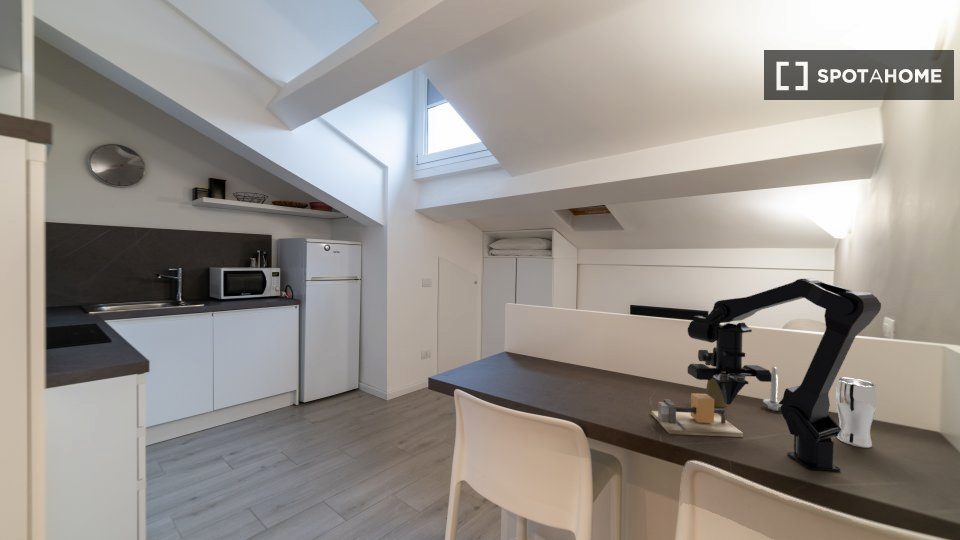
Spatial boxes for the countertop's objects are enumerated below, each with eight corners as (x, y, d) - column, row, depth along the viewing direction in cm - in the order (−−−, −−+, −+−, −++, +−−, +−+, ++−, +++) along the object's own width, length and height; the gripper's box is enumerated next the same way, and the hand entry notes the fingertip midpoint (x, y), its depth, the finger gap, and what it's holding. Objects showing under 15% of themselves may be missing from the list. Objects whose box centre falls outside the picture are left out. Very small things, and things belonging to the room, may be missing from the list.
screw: (776, 413, 107) (759, 407, 111) (787, 411, 108) (769, 404, 113) (778, 369, 106) (760, 364, 111) (788, 367, 108) (770, 363, 112)
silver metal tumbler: (832, 432, 95) (834, 375, 95) (871, 440, 91) (873, 381, 90) (836, 442, 90) (838, 382, 89) (877, 452, 85) (879, 388, 85)
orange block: (713, 422, 97) (714, 399, 97) (698, 422, 97) (698, 398, 97) (705, 416, 101) (706, 393, 101) (690, 415, 101) (691, 393, 101)
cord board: (743, 436, 92) (743, 413, 92) (669, 433, 94) (669, 410, 94) (716, 416, 104) (717, 395, 104) (651, 414, 106) (651, 393, 106)
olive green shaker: (730, 408, 110) (731, 372, 110) (708, 406, 112) (709, 370, 111) (721, 400, 116) (722, 366, 116) (700, 398, 118) (701, 365, 117)
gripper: (746, 340, 105) (744, 394, 106) (678, 339, 107) (677, 391, 107) (774, 350, 94) (772, 409, 94) (698, 348, 95) (697, 407, 96)
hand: (727, 403), depth 98 cm, fingers closed
